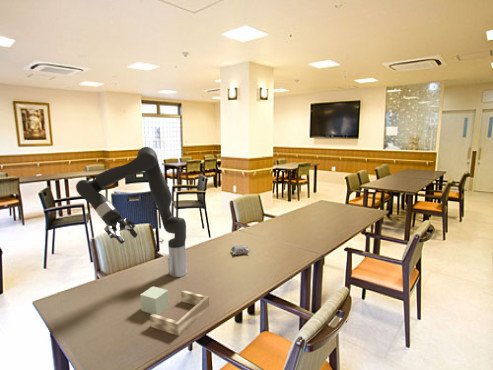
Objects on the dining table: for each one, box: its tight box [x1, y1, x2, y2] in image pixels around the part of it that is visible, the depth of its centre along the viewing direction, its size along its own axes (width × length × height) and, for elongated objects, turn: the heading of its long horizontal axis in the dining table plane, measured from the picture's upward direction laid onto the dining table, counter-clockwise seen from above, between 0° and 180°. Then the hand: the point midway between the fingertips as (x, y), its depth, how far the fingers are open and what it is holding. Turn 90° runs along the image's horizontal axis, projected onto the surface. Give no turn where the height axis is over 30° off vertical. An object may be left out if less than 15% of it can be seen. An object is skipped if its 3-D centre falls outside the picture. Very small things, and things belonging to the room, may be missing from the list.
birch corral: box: [149, 289, 210, 337], centre depth 128 cm, size 14×22×5 cm, turn 155°
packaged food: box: [230, 244, 252, 256], centre depth 196 cm, size 9×12×5 cm
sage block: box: [139, 286, 170, 315], centre depth 134 cm, size 9×8×8 cm
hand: (129, 239), depth 137 cm, fingers open, 8 cm apart
